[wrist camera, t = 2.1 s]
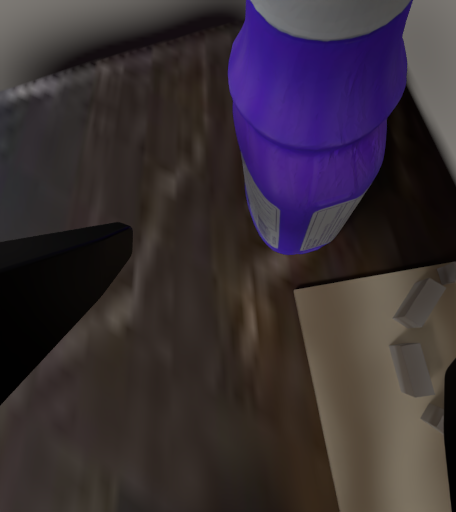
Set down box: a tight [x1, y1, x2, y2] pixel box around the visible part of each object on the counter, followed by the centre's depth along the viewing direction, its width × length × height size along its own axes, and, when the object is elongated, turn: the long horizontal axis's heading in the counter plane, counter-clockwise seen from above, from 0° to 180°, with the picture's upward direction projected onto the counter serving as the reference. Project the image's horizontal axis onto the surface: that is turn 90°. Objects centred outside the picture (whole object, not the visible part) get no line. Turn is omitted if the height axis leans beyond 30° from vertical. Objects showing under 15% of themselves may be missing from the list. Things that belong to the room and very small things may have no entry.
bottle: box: [228, 0, 413, 255], centre depth 15 cm, size 7×6×17 cm
